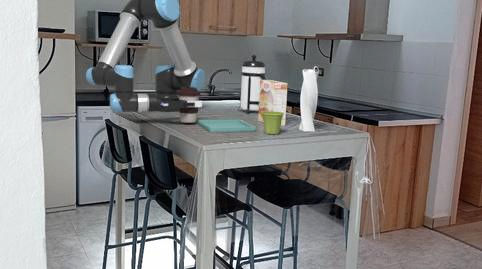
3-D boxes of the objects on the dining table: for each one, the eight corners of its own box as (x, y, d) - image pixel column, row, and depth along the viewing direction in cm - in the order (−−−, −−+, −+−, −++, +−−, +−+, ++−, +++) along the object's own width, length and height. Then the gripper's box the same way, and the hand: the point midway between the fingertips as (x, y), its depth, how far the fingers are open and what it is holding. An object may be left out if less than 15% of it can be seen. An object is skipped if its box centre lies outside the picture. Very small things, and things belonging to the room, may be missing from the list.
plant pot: (266, 136, 201) (267, 114, 199) (256, 131, 209) (257, 111, 207) (287, 135, 204) (288, 114, 203) (276, 131, 213) (277, 110, 211)
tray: (197, 124, 221) (197, 120, 221) (240, 123, 228) (240, 119, 228) (210, 132, 203) (210, 128, 203) (256, 131, 210) (256, 127, 209)
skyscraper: (320, 132, 213) (325, 66, 207) (302, 133, 210) (307, 66, 205) (311, 129, 221) (316, 65, 215) (294, 129, 218) (299, 64, 213)
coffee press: (232, 112, 261) (234, 54, 255) (243, 109, 275) (246, 54, 270) (263, 115, 255) (266, 56, 249) (273, 112, 269) (276, 55, 264)
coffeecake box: (257, 120, 238) (259, 79, 234) (270, 120, 240) (273, 79, 237) (271, 126, 224) (274, 82, 220) (285, 125, 227) (288, 82, 223)
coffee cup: (181, 124, 214) (182, 89, 211) (173, 120, 223) (174, 86, 220) (203, 123, 219) (203, 88, 216) (194, 119, 227) (195, 86, 225)
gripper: (143, 107, 224) (192, 107, 231) (151, 115, 204) (205, 114, 212) (143, 91, 222) (193, 91, 230) (151, 97, 203) (205, 96, 210)
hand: (198, 102), depth 221 cm, fingers closed on coffee cup, 9 cm apart
